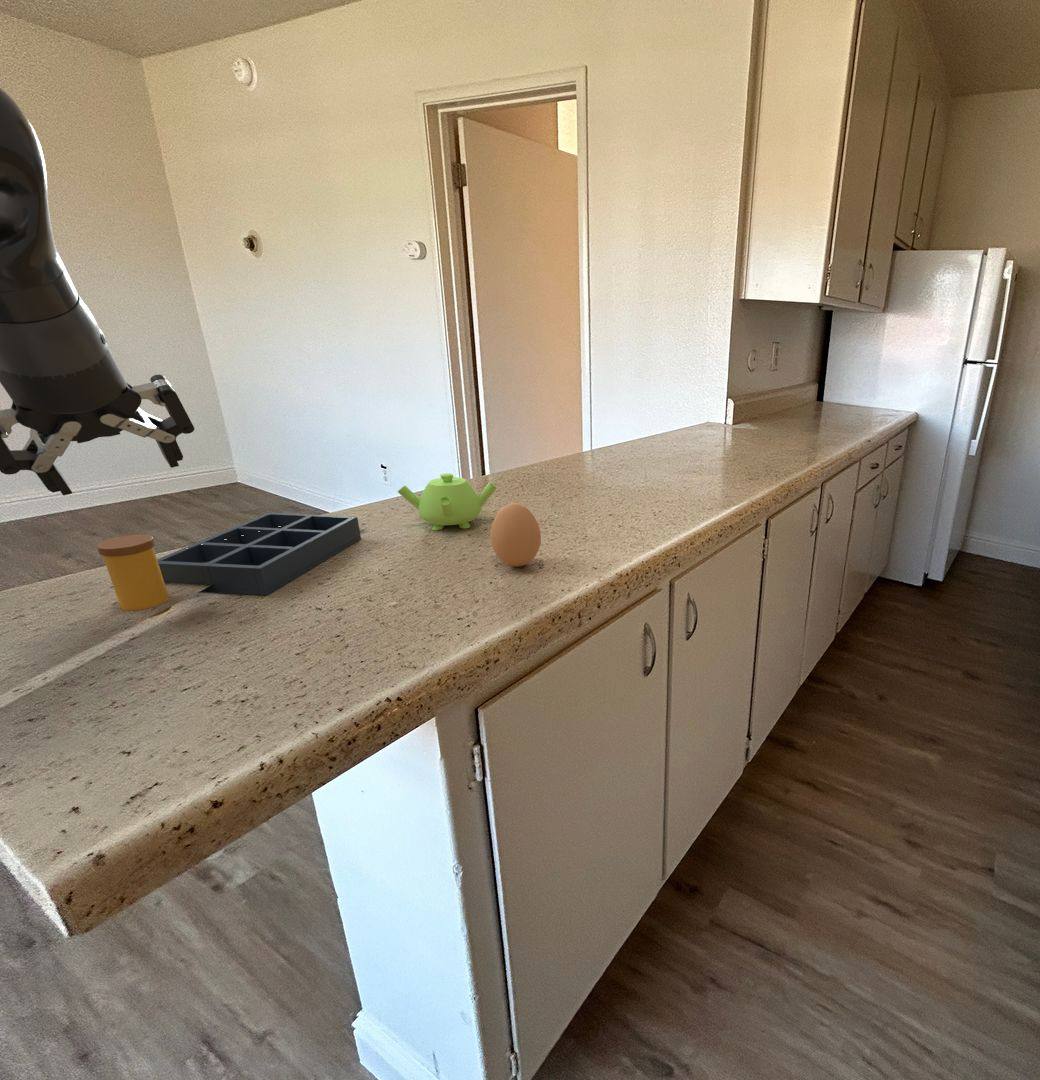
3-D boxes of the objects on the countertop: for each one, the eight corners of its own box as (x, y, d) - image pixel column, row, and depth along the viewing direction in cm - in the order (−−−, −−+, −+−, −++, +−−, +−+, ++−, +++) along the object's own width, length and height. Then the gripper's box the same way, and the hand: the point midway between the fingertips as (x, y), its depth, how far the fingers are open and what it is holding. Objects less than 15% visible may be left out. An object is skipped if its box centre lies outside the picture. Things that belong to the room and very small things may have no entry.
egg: (490, 575, 80) (483, 511, 77) (496, 557, 86) (491, 497, 83) (540, 573, 82) (536, 510, 78) (544, 555, 88) (540, 496, 84)
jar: (109, 619, 65) (84, 547, 62) (146, 601, 69) (124, 533, 66) (149, 621, 65) (126, 549, 62) (184, 603, 69) (163, 535, 66)
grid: (156, 590, 72) (148, 562, 71) (273, 534, 90) (268, 512, 89) (266, 595, 72) (260, 568, 71) (361, 539, 90) (357, 516, 89)
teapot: (457, 508, 106) (451, 462, 103) (504, 520, 101) (500, 472, 98) (400, 526, 96) (392, 475, 93) (449, 540, 92) (442, 487, 89)
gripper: (135, 306, 56) (188, 432, 67) (-99, 332, 46) (10, 473, 58) (169, 355, 54) (218, 476, 65) (-68, 392, 44) (38, 525, 56)
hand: (120, 475), depth 62 cm, fingers open, 8 cm apart
